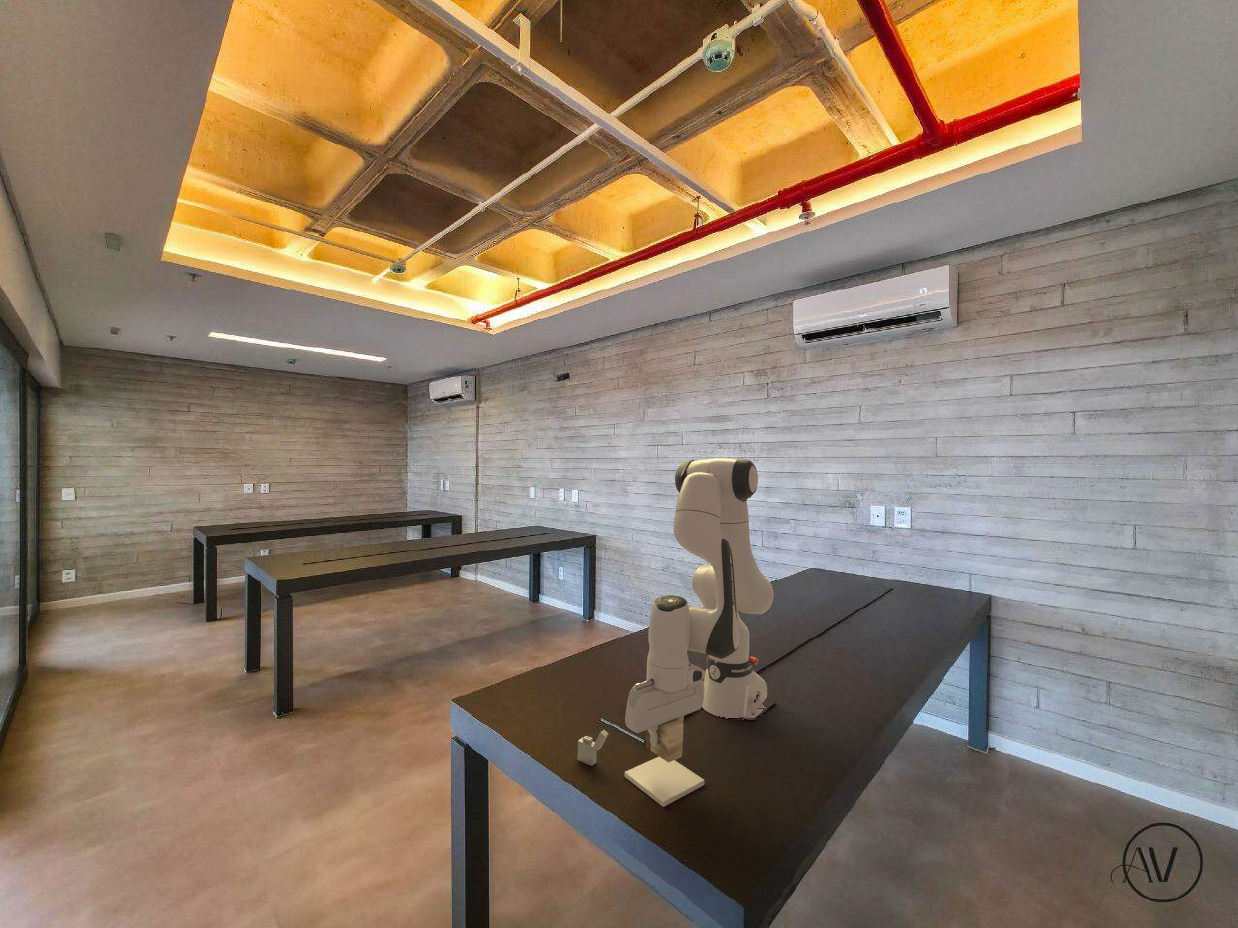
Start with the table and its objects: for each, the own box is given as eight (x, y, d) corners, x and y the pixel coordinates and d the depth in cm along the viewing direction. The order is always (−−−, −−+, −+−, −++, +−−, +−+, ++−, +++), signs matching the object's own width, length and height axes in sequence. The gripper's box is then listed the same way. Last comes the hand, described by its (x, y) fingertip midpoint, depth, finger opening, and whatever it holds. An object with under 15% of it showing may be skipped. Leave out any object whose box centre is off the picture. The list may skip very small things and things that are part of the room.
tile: (664, 758, 117) (664, 753, 117) (704, 784, 107) (704, 779, 107) (624, 776, 109) (624, 771, 109) (663, 806, 100) (663, 801, 100)
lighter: (577, 759, 115) (578, 724, 115) (581, 756, 116) (582, 721, 116) (603, 770, 111) (604, 733, 111) (607, 766, 113) (609, 730, 113)
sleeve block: (682, 756, 107) (683, 722, 107) (668, 762, 104) (669, 728, 104) (659, 741, 112) (660, 709, 112) (645, 747, 110) (646, 714, 110)
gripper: (640, 691, 99) (637, 762, 99) (710, 669, 112) (707, 732, 112) (620, 680, 104) (617, 747, 104) (689, 660, 117) (686, 720, 117)
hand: (664, 739), depth 108 cm, fingers closed on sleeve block, 4 cm apart
